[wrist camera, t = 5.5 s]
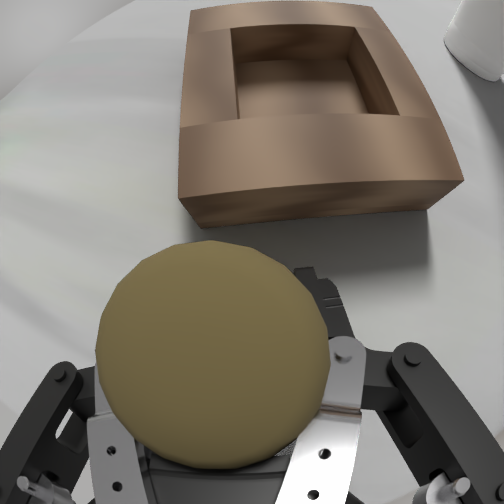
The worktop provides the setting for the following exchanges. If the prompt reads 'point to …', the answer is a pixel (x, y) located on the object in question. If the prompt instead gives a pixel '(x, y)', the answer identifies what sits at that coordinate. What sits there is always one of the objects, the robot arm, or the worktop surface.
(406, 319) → the worktop surface
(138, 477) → the robot arm
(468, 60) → the bottle
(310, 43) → the socket block
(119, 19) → the worktop surface
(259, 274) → the cork
